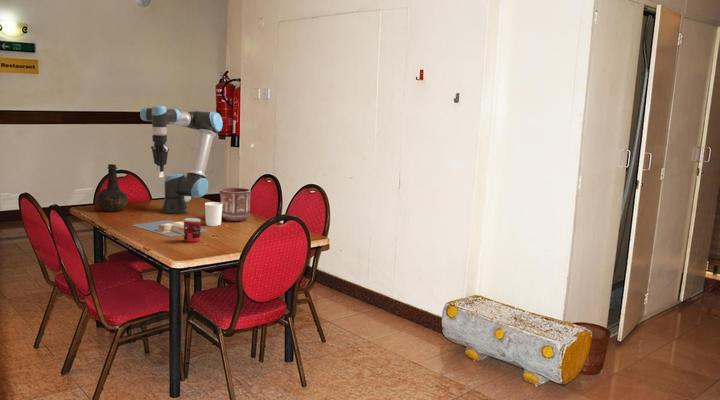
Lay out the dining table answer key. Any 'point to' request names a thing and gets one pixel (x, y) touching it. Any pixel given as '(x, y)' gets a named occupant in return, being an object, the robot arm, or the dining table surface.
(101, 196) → the dark mottled flask
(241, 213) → the pottery
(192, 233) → the canned food
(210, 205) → the candle holder
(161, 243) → the dining table surface
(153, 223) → the push mat
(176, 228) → the t block
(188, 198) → the teacup
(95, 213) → the dining table surface
